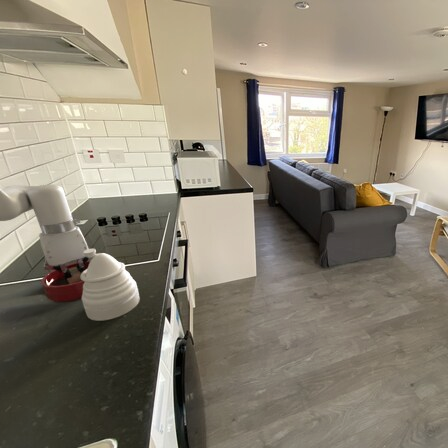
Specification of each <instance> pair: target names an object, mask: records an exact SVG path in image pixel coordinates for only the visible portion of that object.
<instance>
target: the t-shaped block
mask: <svg viewBox="0 0 448 448" xmlns="http://www.w3.org/2000/svg"><path fill="white" fill-rule="evenodd" d="M69 271H70V273H71V276H72V277H71V278H68V279H67V280H66V282H67V284H73V283H77V282H80V281H82V280H81V278H80V276H81V273H80V271H79V270H78V269H77V267H73V268H69ZM85 277H86V276H85Z"/></svg>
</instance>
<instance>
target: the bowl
mask: <svg viewBox="0 0 448 448" xmlns="http://www.w3.org/2000/svg"><path fill="white" fill-rule="evenodd" d="M90 261H91V260H88V261H87V262H86V263H85V265H84V270H86V269H88V266H89V263H90ZM77 264H78V263H77V262H73V263H69V264H65V265H66V268H68V269H69V268H73V267H76V266H77ZM63 279H66V278H65V275H64V273H63V272H61V271H57V270H51V271H50V272H48V273H46V274H45V275H44V276H43V277H42V279H41V281H40V282H41V285H42V288H43V290H44V292H45V296H46V298H47V299H48V300H50V301H52V302H55V303H66V302H73V301H77V300H82V294H83V284H84V283H85V282H84V281H80V282H77V283H73V284H69V283H67V284H64V285H61V284H60V285H55V284H56V283H58V282H59V281H61V280H63Z"/></svg>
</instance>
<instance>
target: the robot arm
mask: <svg viewBox="0 0 448 448" xmlns="http://www.w3.org/2000/svg"><path fill="white" fill-rule="evenodd" d="M31 210H33V212H34V214H35V217H36V220H37V222H38V225H39V227H40V231H41V232H40V233H39V243H40V247H41V250H42V253H43V256H44V263H43V269H44V271H54V270H57V271H61V272H63V273H64V275H65V278H64V279H65V280H66V281H67V279H68V278H71V277H72V276H71V273H70V271H69V269H68V268H66V265H67V263H70V262H74V261H76V263H78V264H77V266H76V267H77V269H78V270H79V271H80V273H81V274H82V272H83V271H85V270H84V265H85V263H86V262H87V261H89V260H91V258H88V257H86V256H85V255H84V253H83V252H84V251H85V250H87V249H90V248H89V246H88V243H87V241H86V239H85V237H84V235H83V233H82V231H81V229H80V227H79V226H78V225H77V224H81V220H80V218H73V214H72V212H71V209H70V206H69V203H68V200H67V196H66V194H65V191H64V188H63V187H62V186H61V185H59V184H41V185H19V184H17V185H15V184H14V185H9V186H5V187H3V188H0V222H7V221H12V220H14V219H16V218H18V217H19V216H21V215H22V214H24V213H26V212H27V213H28V212H29V211H31Z"/></svg>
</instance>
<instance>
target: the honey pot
mask: <svg viewBox="0 0 448 448" xmlns="http://www.w3.org/2000/svg"><path fill="white" fill-rule="evenodd" d="M83 253H84V255H85V256H86V257H88V258H90V260H89V261H90V263H89V266H88V269H86V270H85V271H83V272H82V274H81V276H80V278H81V280H82V281H84V282H85V283H84V284H83V294H82V298H81V302H82V306H83V309H84V311H85V315H86V316H87V318H88V319H90V320H91V321H108V320H113V319H116V318H119V317H121V316H124V315H125V314H127V313H129V312H130V311H132V310H133V309H135V308H136V307H137V305H138V304H139V303H140V300H141V297H140V293H139V288H138V285H137V282H136V281H135V279H133V277H132V276H131V274H130V272H129V271H127V269H126V265H125V263H124V262H121V261H118V260H117V259H116V258H115V257H113V256H112V255H110V254H108V253H104V252H100V253H97V250H96V248H89V249H87V250H85V251H84V252H83ZM85 276H86V277H85Z"/></svg>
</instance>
